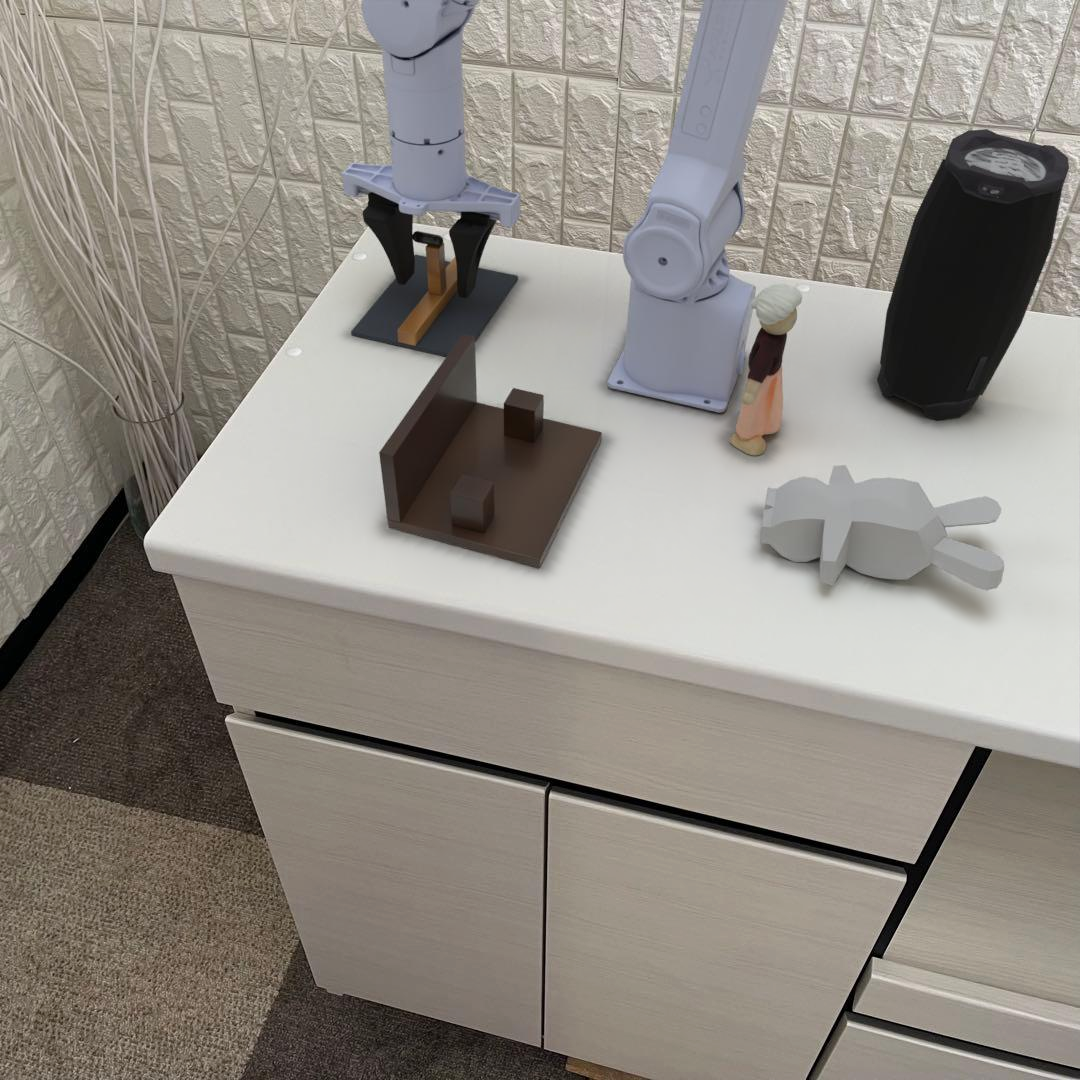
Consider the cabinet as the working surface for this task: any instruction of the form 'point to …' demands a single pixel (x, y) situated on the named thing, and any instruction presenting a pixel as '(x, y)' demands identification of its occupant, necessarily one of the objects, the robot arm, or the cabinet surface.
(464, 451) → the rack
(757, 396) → the grandmother figurine
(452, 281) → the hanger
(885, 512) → the bunny figurine
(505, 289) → the pad
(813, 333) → the cabinet surface
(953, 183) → the portable speaker
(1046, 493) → the cabinet surface
